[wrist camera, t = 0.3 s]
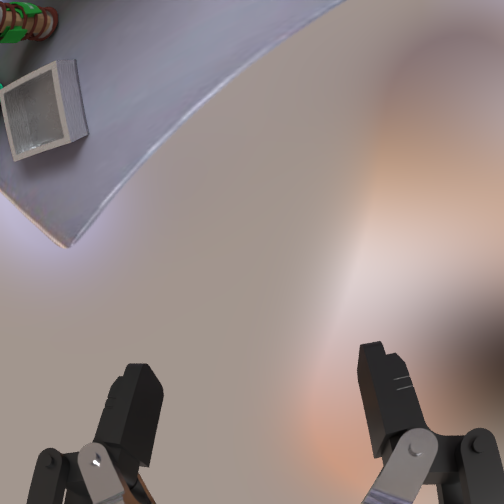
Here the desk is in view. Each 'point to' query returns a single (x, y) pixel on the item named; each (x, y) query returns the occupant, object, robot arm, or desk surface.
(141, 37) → the desk surface
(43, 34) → the shock absorber
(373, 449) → the robot arm
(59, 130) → the square tray
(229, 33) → the desk surface
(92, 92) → the desk surface
